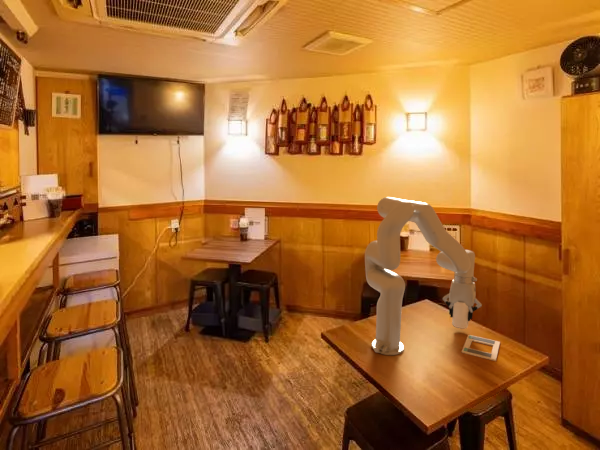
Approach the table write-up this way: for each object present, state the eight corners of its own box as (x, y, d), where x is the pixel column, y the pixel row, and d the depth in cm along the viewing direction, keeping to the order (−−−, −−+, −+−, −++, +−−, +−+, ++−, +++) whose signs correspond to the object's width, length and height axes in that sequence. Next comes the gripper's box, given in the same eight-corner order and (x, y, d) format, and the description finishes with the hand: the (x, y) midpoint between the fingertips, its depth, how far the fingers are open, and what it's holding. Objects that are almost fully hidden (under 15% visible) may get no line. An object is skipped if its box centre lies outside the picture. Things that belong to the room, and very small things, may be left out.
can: (465, 322, 168) (467, 297, 166) (470, 329, 162) (472, 302, 160) (450, 322, 169) (451, 296, 167) (454, 328, 163) (456, 302, 160)
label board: (495, 361, 142) (496, 359, 142) (461, 352, 149) (461, 350, 148) (499, 343, 156) (500, 341, 155) (468, 335, 162) (468, 334, 162)
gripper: (486, 279, 160) (483, 319, 163) (444, 273, 169) (441, 310, 172) (484, 285, 154) (481, 326, 157) (440, 277, 163) (437, 317, 166)
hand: (460, 317), depth 165 cm, fingers closed on can, 6 cm apart
